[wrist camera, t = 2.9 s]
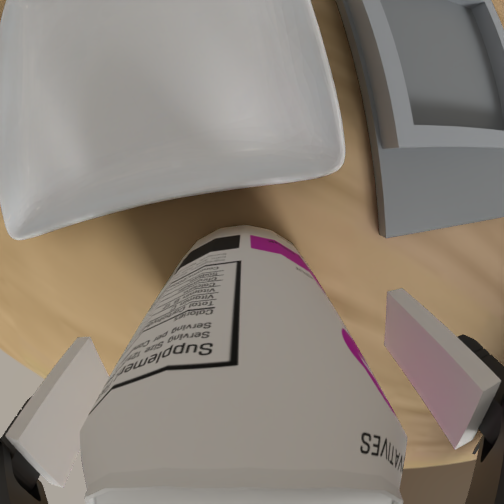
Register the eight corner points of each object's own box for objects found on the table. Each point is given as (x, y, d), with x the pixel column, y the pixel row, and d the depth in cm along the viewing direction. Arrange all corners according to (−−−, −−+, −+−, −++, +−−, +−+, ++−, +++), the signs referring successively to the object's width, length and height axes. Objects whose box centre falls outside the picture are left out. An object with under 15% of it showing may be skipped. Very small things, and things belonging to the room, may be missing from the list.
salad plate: (33, 235, 17) (5, 247, 14) (25, 3, 11) (4, -9, 8) (333, 173, 17) (353, 175, 14) (270, -74, 11) (274, -100, 8)
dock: (511, 211, 17) (535, 218, 14) (379, 234, 17) (401, 246, 15) (449, -37, 11) (465, -49, 8) (307, -68, 11) (314, -91, 8)
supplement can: (314, 225, 17) (502, 409, 3) (300, 344, 20) (359, 556, 5) (176, 220, 17) (-14, 400, 3) (182, 341, 19) (121, 552, 5)
